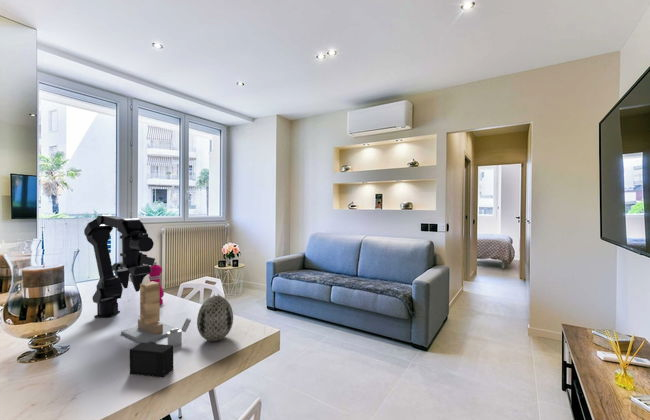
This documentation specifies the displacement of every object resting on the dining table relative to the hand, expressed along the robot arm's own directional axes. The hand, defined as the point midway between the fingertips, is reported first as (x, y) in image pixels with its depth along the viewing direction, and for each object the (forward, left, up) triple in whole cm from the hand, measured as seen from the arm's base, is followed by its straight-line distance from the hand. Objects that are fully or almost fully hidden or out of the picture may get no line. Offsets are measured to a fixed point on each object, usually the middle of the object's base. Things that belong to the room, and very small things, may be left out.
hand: (131, 289), depth 116 cm
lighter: (+28, -17, -13) cm, 35 cm away
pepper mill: (-4, +22, -13) cm, 26 cm away
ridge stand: (+13, -9, -13) cm, 20 cm away
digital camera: (+29, -33, -13) cm, 46 cm away
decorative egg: (+39, -14, -13) cm, 43 cm away
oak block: (+13, -9, -9) cm, 18 cm away
